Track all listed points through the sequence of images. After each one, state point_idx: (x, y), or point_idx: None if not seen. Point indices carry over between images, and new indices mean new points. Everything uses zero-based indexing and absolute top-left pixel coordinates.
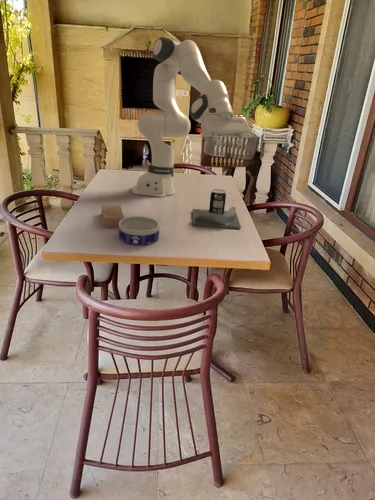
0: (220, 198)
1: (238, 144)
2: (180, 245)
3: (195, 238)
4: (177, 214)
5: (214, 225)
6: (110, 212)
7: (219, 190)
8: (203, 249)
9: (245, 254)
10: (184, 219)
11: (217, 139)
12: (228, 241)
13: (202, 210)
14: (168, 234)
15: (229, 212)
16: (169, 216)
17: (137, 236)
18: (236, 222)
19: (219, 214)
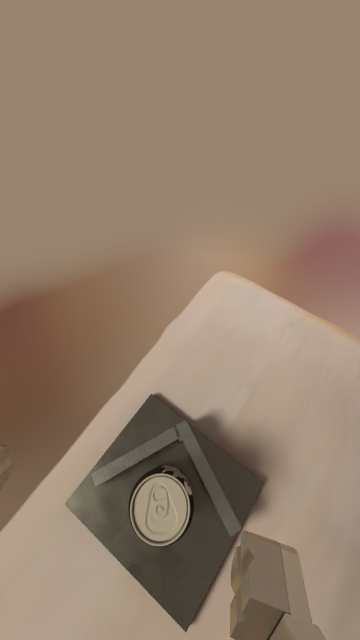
0: (174, 470)
1: (8, 469)
2: (347, 389)
3: (295, 404)
4: None
5: (209, 440)
6: None
7: (143, 523)
8: (305, 350)
9: (236, 297)
10: None
11: (308, 617)
12: (230, 354)
13: (223, 506)
14: (355, 462)
15: (151, 441)
16: None
17: None
18: (140, 421)
19: (193, 442)
